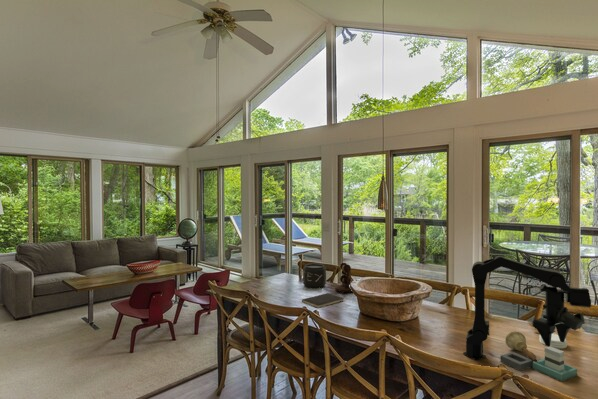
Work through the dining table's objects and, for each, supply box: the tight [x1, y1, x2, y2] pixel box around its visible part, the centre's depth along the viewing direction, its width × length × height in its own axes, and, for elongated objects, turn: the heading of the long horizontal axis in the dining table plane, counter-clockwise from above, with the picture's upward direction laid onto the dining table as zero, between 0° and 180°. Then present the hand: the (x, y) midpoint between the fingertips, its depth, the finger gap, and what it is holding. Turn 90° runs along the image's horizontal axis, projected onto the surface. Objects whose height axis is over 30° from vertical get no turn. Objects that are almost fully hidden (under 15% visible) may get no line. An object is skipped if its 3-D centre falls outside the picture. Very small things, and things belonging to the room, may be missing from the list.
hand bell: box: [504, 330, 538, 362], centre depth 139 cm, size 8×8×16 cm
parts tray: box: [532, 357, 578, 382], centre depth 127 cm, size 10×10×2 cm
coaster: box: [539, 333, 568, 350], centre depth 152 cm, size 10×10×4 cm
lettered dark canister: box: [302, 263, 327, 290], centre depth 255 cm, size 18×18×16 cm
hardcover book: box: [301, 292, 345, 309], centre depth 217 cm, size 16×23×2 cm
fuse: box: [544, 346, 565, 373], centre depth 127 cm, size 3×5×8 cm, turn 25°
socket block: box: [499, 351, 534, 372], centre depth 134 cm, size 8×8×2 cm
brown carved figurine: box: [335, 262, 352, 294], centre depth 241 cm, size 15×15×20 cm
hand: (555, 344), depth 127 cm, fingers open, 9 cm apart
